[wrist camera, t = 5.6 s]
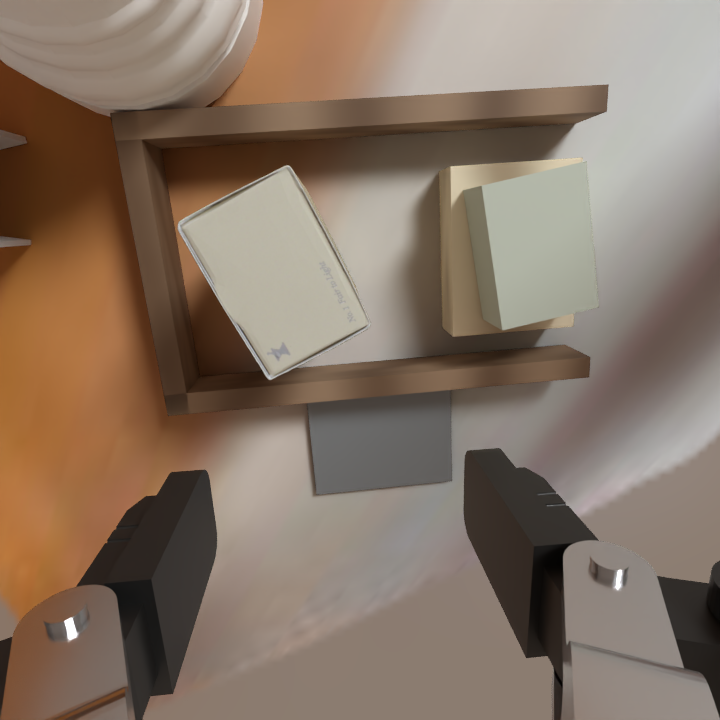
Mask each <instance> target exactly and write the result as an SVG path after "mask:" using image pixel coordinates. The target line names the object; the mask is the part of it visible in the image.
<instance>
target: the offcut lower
mask: <svg viewBox="0 0 720 720" xmlns="http://www.w3.org/2000/svg"><path fill="white" fill-rule="evenodd" d="M580 162H583V158H569V159H554V160H539V161H524V162H508V163H493V164H478V165H463V166H450V167H448V168H446V169H443V170H441V171H439V198H440V243H441V288H442V328H443V329H445V330H446V331H447V332H448V333H449V334H450V335H452V336H453V337H458V336H469V335H481V334H492V333H504V332H515V331H527V330H539V329H550V328H562V327H573V325H574V313H573V314H569V315H565V316H561V317H557V318H553V319H548V320H544V321H540V322H536V323H532V324H527V325H523V326H519V327H515V328H511V329H507V330H501V329H499V328H497V327H496V326H494V325H492V324H490V323H489V322H487V321H485V320H483V316H482V310H481V303H480V297H479V290H478V284H477V277H476V271H475V264H474V258H473V251H472V245H471V238H470V232H469V226H468V219H467V213H466V206H465V200H464V193H463V190H466V189H470V188H474V187H478V186H482V185H487V184H491V183H495V182H499V181H504V180H508V179H512V178H516V177H521V176H525V175H529V174H533V173H538V172H542V171H546V170H550V169H555V168H559V167H563V166H568V165H572V164H576V163H580Z"/></svg>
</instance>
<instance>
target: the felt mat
mask: <svg viewBox="0 0 720 720" xmlns="http://www.w3.org/2000/svg"><path fill="white" fill-rule="evenodd" d="M307 407H308V417H309V426H310V436H311V445H312V455H313V464H314V474H315V483H316V493H317V495H319V494H329V493H339V492H348V491H358V490H368V489H378V488H387V487H397V486H407V485H417V484H426V483H436V482H446V481H452V453H451V395H450V390H444V391H433V392H422V393H411V394H400V395H390V396H379V397H368V398H357V399H346V400H335V401H324V402H313V403H307Z"/></svg>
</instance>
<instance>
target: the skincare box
mask: <svg viewBox="0 0 720 720" xmlns="http://www.w3.org/2000/svg"><path fill="white" fill-rule="evenodd" d="M178 231H179V233H180V234H181V236H182V238H183V240H184V242H185V243H186V245H187V247H188V249H189V250H190V252H191V254H192V256H193V258H194V259H195V261H196V263H197V264H198V266H199V268H200V269H201V271H202V273H203V275H204V276H205V278H206V280H207V282H208V283H209V285H210V287H211V288H212V290H213V292H214V294H215V295H216V297H217V299H218V301H219V302H220V304H221V306H222V307H223V309H224V310H225V312H226V314H227V315H228V317H229V318H230V320H231V321H232V323H233V325H234V326H235V328H236V330H237V331H238V333H239V335H240V336H241V338H242V339H243V341H244V342H245V344H246V346H247V347H248V349H249V350H250V352H251V354H252V355H253V357H254V358H255V360H256V362H257V363H258V364H259V366H260V368H261V369H262V371H263V372H264V374H265V376H266V377H267V379H268V380H272V379H274V378H276V377H277V376H279V375H282V374H284V373H286V372H288V371H290V370H292V369H294V368H296V367H298V366H300V365H302V364H304V363H306V362H308V361H310V360H312V359H314V358H316V357H317V356H319V355H321V354H323V353H325V352H327V351H329V350H331V349H333V348H335V347H337V346H339V345H341V344H342V343H344V342H346V341H348V340H350V339H351V338H353V337H355V336H357V335H358V334H360V333H362V332H364V331H365V330H367V329H368V328H369V327H370V325H371V322H370V319H369V317H368V315H367V313H366V310H365V308H364V306H363V304H362V302H361V299H360V297H359V295H358V292H357V289H356V286H355V284H354V282H353V280H352V278H351V276H350V274H349V272H348V270H347V268H346V266H345V263H344V261H343V259H342V257H341V255H340V253H339V251H338V249H337V247H336V245H335V243H334V241H333V239H332V237H331V235H330V233H329V231H328V230H327V228H326V226H325V224H324V222H323V220H322V218H321V216H320V214H319V212H318V210H317V208H316V206H315V204H314V202H313V200H312V198H311V196H310V195H309V193H308V191H307V190H306V188H305V187H304V185H303V184H302V182H301V181H300V179H299V178H298V177H297V175H296V174H295V172H294V171H293V169H292V168H291V167H290V166H289V165H286V166H283V167H281V168H279V169H277V170H276V171H274V172H272V173H270V174H268V175H266V176H264V177H262V178H260V179H258V180H256V181H254V182H252V183H250V184H248V185H246V186H244V187H242V188H240V189H238V190H236V191H234V192H232V193H230V194H228V195H226V196H224V197H222V198H220V199H219V200H217V201H215V202H213V203H211V204H209V205H207V206H206V207H204V208H202V209H200V210H198V211H196V212H195V213H193V214H191V215H189V216H187V217H186V218H184V219H182V220H181V221H179V223H178Z"/></svg>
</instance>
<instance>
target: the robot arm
mask: <svg viewBox="0 0 720 720" xmlns="http://www.w3.org/2000/svg"><path fill="white" fill-rule="evenodd" d="M464 520H465V526H466V530H467V534H468V537H469V539H470V541H471V543H472V545H473V548H474V550H475V552H476V554H477V556H478V558H479V560H480V562H481V564H482V566H483V568H484V570H485V573H486V575H487V577H488V579H489V581H490V583H491V585H492V587H493V589H494V591H495V593H496V596H497V598H498V600H499V602H500V604H501V606H502V608H503V610H504V612H505V615H506V616H507V619H508V621H509V623H510V625H511V627H512V629H513V631H514V633H515V635H516V638H517V640H518V642H519V644H520V646H521V648H522V650H523V652H524V654H525V656H526V658H531V657H541V656H548V658H549V659H550V661H551V663H552V665H553V677H552V720H720V561H719V562H717V563H715V565H714V566H713V568H712V571H711V576H710V581H709V583H701V582H694V581H686V580H679V579H672V578H665V577H660V576H657V575H656V573H655V571H654V569H653V568H652V566H651V565H650V564H648V562H647V561H646V560H644V559H643V558H642V557H641V556H639V555H638V554H636V553H635V552H633V551H631V550H629V549H627V548H624V547H622V546H619V545H616V544H613V543H608V542H604V541H599V540H598V539H597V538H596V537H595V536H594V535H593V533H592V532H591V531H590V530H589V529H588V528H587V527H586V525H585V524H584V523H583V522H582V521H581V520H580V519H579V518H578V516H577V515H576V514H575V513H574V512H573V511H572V510H571V508H570V507H569V506H566V504H565V502H564V501H563V499H562V498H561V497H560V496H559V495H558V494H556V492H555V490H554V489H553V488H552V487H551V486H550V485H549V484H548V482H547V481H546V480H545V479H544V478H542V477H541V476H539V475H537V474H535V473H534V472H532V471H530V470H528V469H527V468H515V466H514V465H513V464H512V463H511V461H510V460H509V459H508V458H507V456H506V455H505V454H504V453H503V451H502V450H501V449H499V448H496V449H483V450H470V451H467V452H466V455H465V470H464ZM116 527H117V528H116V530H114V531H113V532H112V534H111V535H110V537H109V538H108V542H107V543H105V544H104V546H103V547H102V549H101V550H100V552H99V553H98V555H97V556H96V558H95V559H94V561H93V562H92V564H91V565H90V567H89V568H88V570H87V571H86V573H85V574H84V576H83V577H82V579H81V580H80V582H79V583H78V585H77V586H76V587H74V588H71V589H67V590H65V591H62V592H60V593H57V594H55V595H53V596H51V597H49V598H48V599H46V600H44V601H43V602H41V603H40V604H38V605H37V606H35V607H34V608H33V609H32V610H31V611H29V612H28V613H27V614H26V615H25V616H24V617H23V618H22V620H21V621H20V622H19V624H18V625H17V627H16V629H15V631H14V633H13V637H10V638H8V639H5V640H2V641H0V720H143V715H144V712H145V709H146V707H147V704H148V701H149V698H150V696H156V695H165V694H173V692H174V689H175V686H176V682H177V679H178V676H179V673H180V669H181V666H182V663H183V660H184V657H185V653H186V650H187V647H188V644H189V641H190V637H191V634H192V631H193V628H194V625H195V621H196V618H197V615H198V612H199V608H200V605H201V602H202V599H203V596H204V592H205V589H206V586H207V583H208V580H209V576H210V573H211V570H212V567H213V563H214V560H215V556H216V549H217V530H216V522H215V515H214V508H213V501H212V494H211V487H210V480H209V475H208V473H207V471H206V470H194V471H181V472H171V473H170V474H169V476H168V477H167V479H166V481H165V482H164V484H163V486H162V487H161V489H160V491H159V492H158V494H157V495H156V496H146V497H144V498H143V499H142V500H140V501H139V502H138V503H137V504H135V505H134V506H133V507H131V508H130V509H129V510H127V512H126V513H125V515H124V516H123V518H122V519H121V521H120V522H119V524H118V525H117V526H116Z"/></svg>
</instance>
